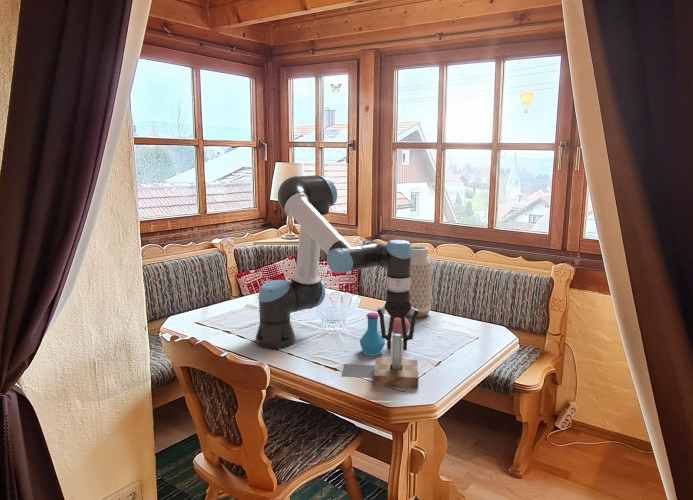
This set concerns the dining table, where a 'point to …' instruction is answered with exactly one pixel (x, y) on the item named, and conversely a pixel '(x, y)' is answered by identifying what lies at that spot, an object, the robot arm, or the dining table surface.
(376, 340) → the perfume bottle
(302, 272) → the robot arm
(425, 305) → the vase
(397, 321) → the light bulb
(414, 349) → the dining table surface
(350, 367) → the mat
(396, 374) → the hole block
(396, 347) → the peg
